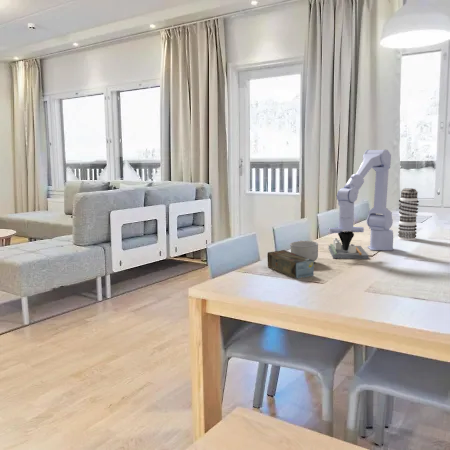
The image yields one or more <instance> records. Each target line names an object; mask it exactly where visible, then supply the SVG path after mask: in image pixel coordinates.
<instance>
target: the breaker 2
mask: <svg viewBox="0 0 450 450" xmlns="http://www.w3.org/2000/svg"><path fill="white" fill-rule="evenodd" d="M341 245H342V242H341V240H340V241H335V250H341Z"/></svg>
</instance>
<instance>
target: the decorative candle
mask: <svg viewBox="0 0 450 450" xmlns="http://www.w3.org/2000/svg"><path fill="white" fill-rule="evenodd" d="M418 193H419V191H417V189H416V188H412V187H411V188H409V187H408V188H406V187H405V188H403V189H401V191H400V198H399V200H398V202H399V203H398V206H399V207H398V209H399V211H398V213H399V214H398V215H399V221H398V223H399V224H398V231H397V233H398V234H397V236H398V237H397V239H399V240H401V241H416V240H417V238H416V237H417V230H418V228H417V227H418V226H417V217H418V213H419V208H418V206H419V203H420V200H418Z"/></svg>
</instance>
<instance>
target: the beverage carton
mask: <svg viewBox="0 0 450 450" xmlns="http://www.w3.org/2000/svg"><path fill="white" fill-rule="evenodd" d="M314 263H315V261H313V260H311V259H308V258H305V257H303V256H300V255H297V254H294V253H291V251H288V250H285V249H282V250H275V251H269V252H267V268H269V269H271V268H272V270H273V271H276V272H279V273H281V272H282V274H283V275H286V274H287V275H286V276H289V277H291V276H292V277H291V278H294V277H295V278H294V279H301V277H303V278H309V277H308V276H310V277H314V274H315V273H314V272H315V271H314V269H315V266H314V265H315V264H314Z"/></svg>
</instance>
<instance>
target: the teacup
mask: <svg viewBox="0 0 450 450" xmlns="http://www.w3.org/2000/svg"><path fill="white" fill-rule="evenodd" d="M289 246H290V252H291V253H294V254H297V255H300V256H303V257H305V258H308V259H311V260H313V261H314V262H315V261H317V259H318V258H319V257H318V256H319V242H317V241H314V240H297V241H293V242H291V243H290V244H289Z"/></svg>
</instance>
